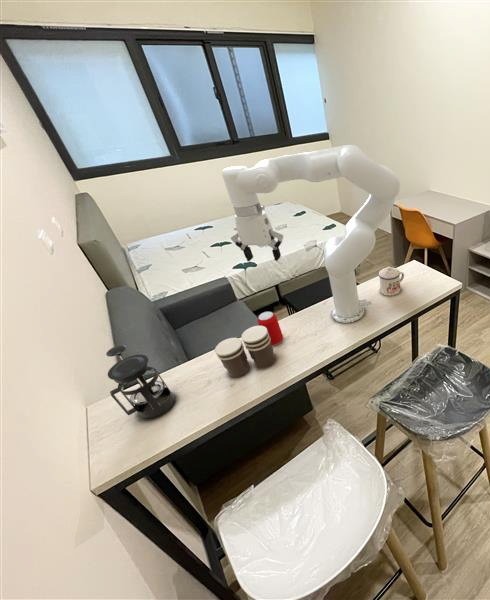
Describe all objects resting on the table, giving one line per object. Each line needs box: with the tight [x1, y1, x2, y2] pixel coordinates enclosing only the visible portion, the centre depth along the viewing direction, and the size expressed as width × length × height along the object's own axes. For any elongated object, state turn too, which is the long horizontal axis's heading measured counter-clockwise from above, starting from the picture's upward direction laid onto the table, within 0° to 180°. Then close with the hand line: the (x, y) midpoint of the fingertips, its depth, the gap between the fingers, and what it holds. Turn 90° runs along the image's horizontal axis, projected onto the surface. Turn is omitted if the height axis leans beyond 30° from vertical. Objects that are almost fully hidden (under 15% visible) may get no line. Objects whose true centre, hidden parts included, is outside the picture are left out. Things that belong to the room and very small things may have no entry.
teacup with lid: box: [378, 266, 405, 297], centre depth 138 cm, size 12×9×12 cm
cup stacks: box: [214, 325, 276, 379], centre depth 104 cm, size 16×8×12 cm, turn 116°
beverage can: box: [257, 311, 284, 347], centre depth 113 cm, size 6×6×12 cm
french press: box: [105, 344, 177, 421], centre depth 88 cm, size 12×9×23 cm
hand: (264, 259), depth 109 cm, fingers open, 9 cm apart
